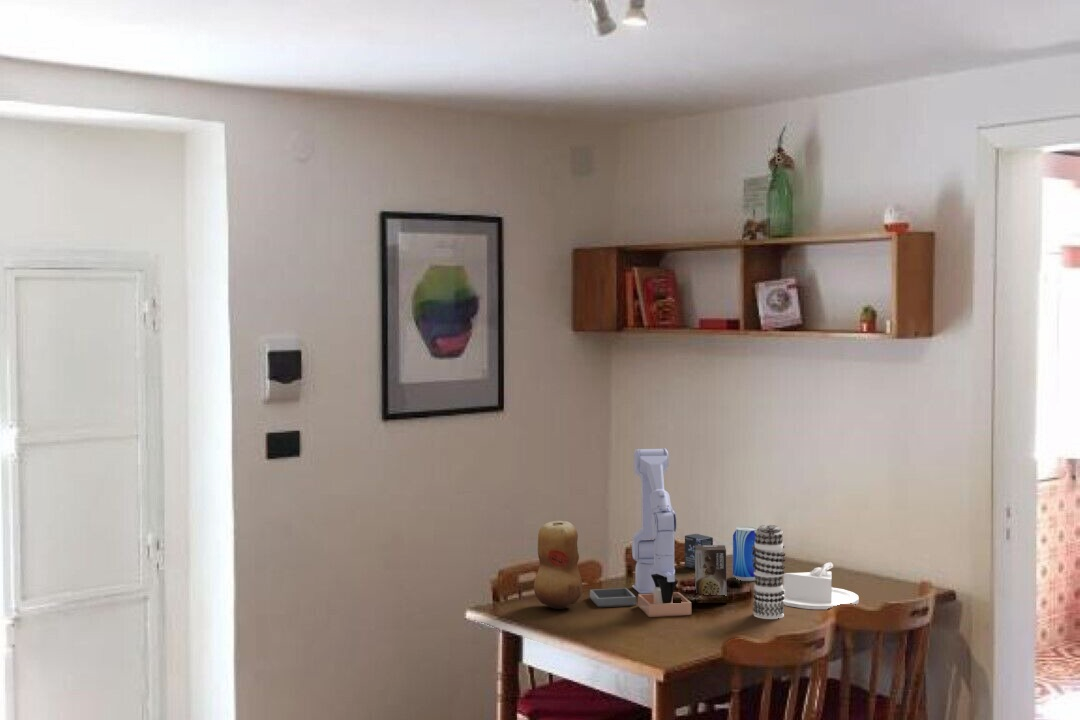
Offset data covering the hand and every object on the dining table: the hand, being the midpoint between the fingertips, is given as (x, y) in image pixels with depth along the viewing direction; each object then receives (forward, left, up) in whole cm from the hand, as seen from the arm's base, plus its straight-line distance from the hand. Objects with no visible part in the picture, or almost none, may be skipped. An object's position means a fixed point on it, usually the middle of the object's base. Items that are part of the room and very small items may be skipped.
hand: (664, 601), depth 353 cm
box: (-51, +26, -3) cm, 57 cm away
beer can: (-33, +36, -3) cm, 49 cm away
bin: (0, 0, -3) cm, 3 cm away
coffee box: (-7, +16, -3) cm, 18 cm away
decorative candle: (+11, +27, -3) cm, 29 cm away
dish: (-4, +47, -3) cm, 47 cm away
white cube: (0, 0, -1) cm, 1 cm away
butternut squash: (-9, -29, -3) cm, 30 cm away
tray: (-13, -12, -3) cm, 18 cm away
